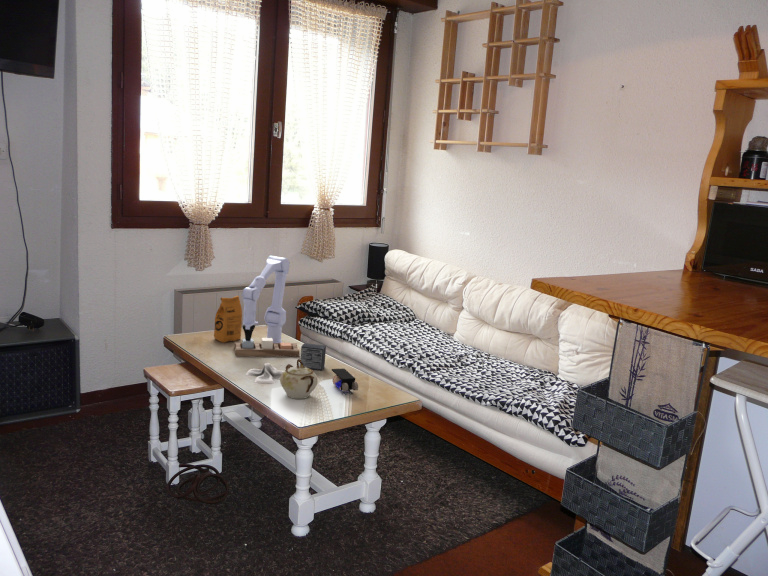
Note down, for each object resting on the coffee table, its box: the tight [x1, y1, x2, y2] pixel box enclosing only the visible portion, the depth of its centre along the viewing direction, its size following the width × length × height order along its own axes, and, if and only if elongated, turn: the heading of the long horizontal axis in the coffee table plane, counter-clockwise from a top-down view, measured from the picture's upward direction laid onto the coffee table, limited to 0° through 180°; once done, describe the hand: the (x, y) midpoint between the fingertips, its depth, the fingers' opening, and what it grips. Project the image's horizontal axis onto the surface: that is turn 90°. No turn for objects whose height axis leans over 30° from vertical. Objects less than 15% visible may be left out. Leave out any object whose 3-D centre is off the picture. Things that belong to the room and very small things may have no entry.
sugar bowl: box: [279, 358, 319, 400], centre depth 260 cm, size 20×15×15 cm
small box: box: [299, 342, 327, 372], centre depth 297 cm, size 11×6×10 cm, turn 84°
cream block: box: [260, 337, 273, 349], centre depth 313 cm, size 5×5×4 cm
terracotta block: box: [280, 342, 292, 349], centre depth 316 cm, size 5×5×4 cm
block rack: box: [233, 341, 301, 358], centre depth 313 cm, size 12×30×3 cm, turn 105°
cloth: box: [245, 362, 285, 384], centre depth 282 cm, size 22×19×6 cm
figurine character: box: [331, 368, 359, 396], centre depth 272 cm, size 7×8×15 cm
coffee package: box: [213, 295, 243, 343], centre depth 327 cm, size 10×12×22 cm
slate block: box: [242, 338, 255, 349], centre depth 311 cm, size 5×5×4 cm
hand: (248, 340), depth 310 cm, fingers closed, pressing on slate block
